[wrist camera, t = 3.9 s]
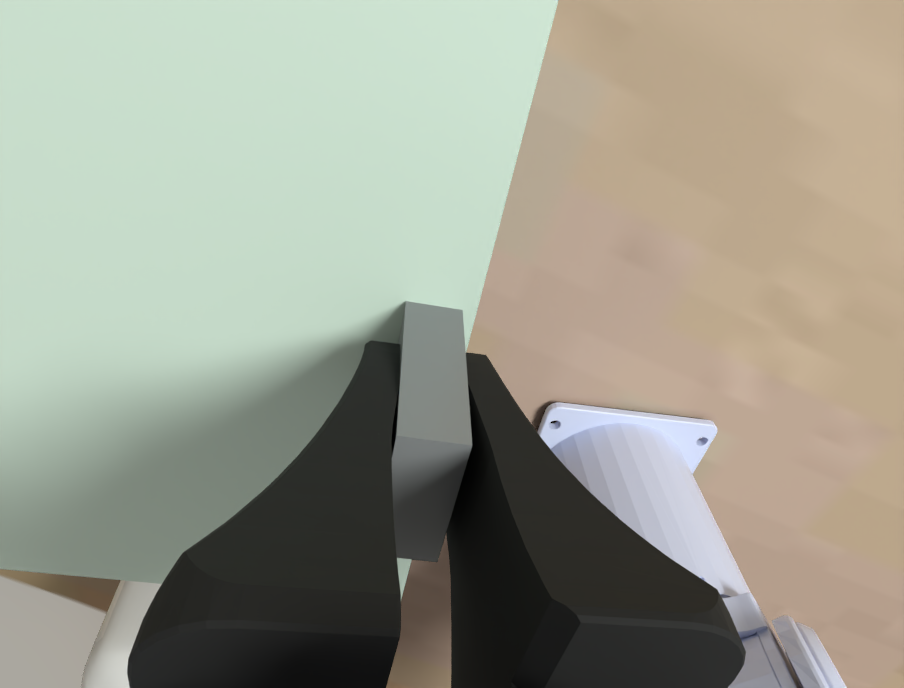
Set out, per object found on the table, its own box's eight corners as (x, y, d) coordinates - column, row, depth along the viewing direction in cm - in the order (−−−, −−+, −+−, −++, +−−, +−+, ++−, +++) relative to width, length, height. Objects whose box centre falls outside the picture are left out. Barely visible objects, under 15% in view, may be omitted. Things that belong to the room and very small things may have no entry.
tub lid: (401, 571, 20) (392, 750, 16) (14, 532, 19) (-109, 719, 14) (582, -148, 10) (696, -189, 5) (-263, -370, 8) (-1020, -667, 4)
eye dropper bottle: (113, 540, 31) (-24, 836, 21) (174, 482, 29) (53, 781, 19) (191, 574, 33) (99, 861, 23) (254, 522, 31) (182, 812, 21)
